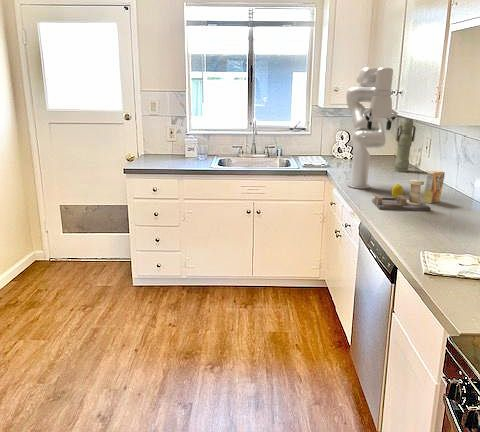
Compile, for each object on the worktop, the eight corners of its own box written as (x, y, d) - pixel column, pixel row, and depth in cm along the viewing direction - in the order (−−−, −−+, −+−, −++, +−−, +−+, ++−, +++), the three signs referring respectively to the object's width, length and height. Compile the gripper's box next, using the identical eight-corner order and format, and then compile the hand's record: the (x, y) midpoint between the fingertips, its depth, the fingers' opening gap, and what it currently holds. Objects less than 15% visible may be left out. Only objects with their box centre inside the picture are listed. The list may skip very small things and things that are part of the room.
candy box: (433, 199, 236) (437, 170, 232) (440, 201, 233) (445, 172, 228) (422, 201, 232) (426, 172, 227) (429, 203, 228) (434, 173, 224)
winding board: (372, 201, 229) (373, 192, 228) (420, 203, 229) (421, 194, 227) (379, 209, 216) (380, 200, 215) (430, 211, 215) (431, 201, 214)
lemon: (404, 199, 235) (406, 184, 233) (397, 200, 232) (399, 185, 229) (395, 197, 239) (397, 182, 237) (388, 198, 236) (390, 183, 234)
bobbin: (403, 201, 225) (406, 179, 222) (418, 202, 225) (421, 180, 222) (408, 205, 218) (411, 182, 215) (422, 205, 218) (426, 183, 215)
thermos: (389, 169, 312) (395, 117, 301) (405, 169, 313) (412, 117, 303) (395, 172, 303) (402, 118, 293) (412, 172, 305) (419, 119, 295)
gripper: (396, 94, 227) (392, 129, 232) (362, 93, 225) (359, 128, 230) (402, 94, 220) (398, 130, 224) (368, 94, 218) (364, 130, 223)
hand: (378, 129), depth 227 cm, fingers open, 9 cm apart
